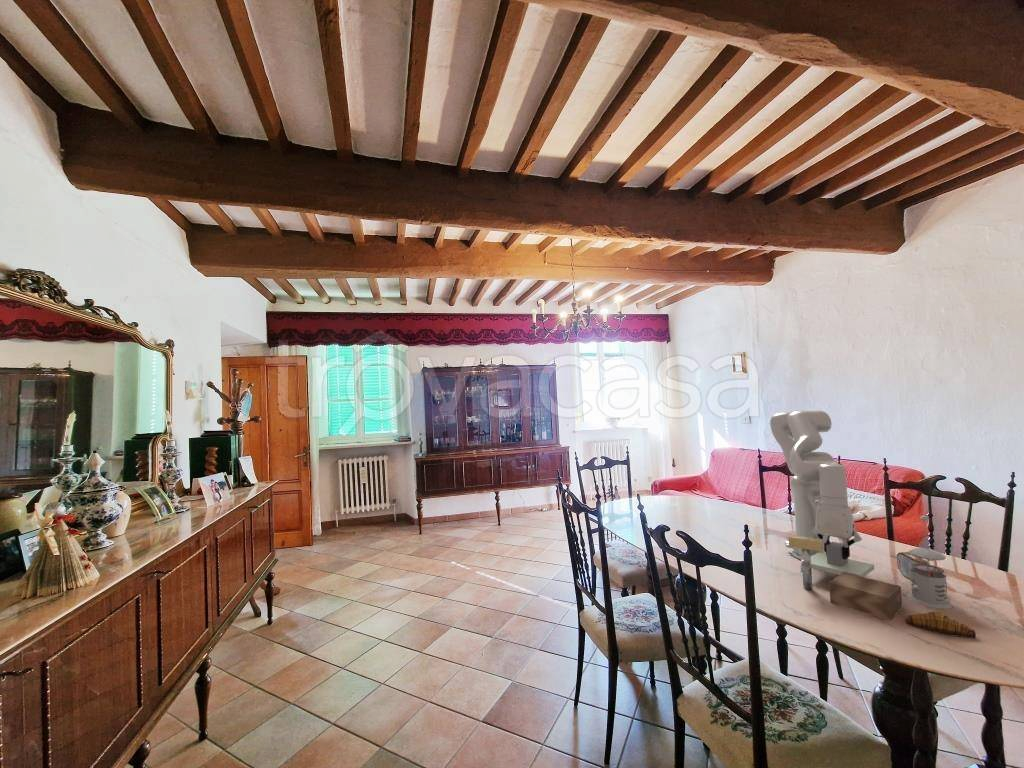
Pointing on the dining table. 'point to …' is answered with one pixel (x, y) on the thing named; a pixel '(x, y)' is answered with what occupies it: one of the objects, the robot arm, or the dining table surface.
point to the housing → (866, 595)
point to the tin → (908, 564)
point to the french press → (928, 578)
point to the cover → (839, 562)
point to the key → (806, 555)
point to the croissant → (940, 624)
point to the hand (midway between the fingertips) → (837, 556)
